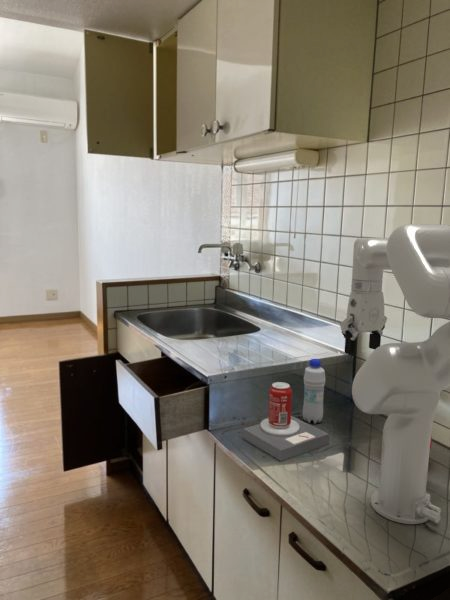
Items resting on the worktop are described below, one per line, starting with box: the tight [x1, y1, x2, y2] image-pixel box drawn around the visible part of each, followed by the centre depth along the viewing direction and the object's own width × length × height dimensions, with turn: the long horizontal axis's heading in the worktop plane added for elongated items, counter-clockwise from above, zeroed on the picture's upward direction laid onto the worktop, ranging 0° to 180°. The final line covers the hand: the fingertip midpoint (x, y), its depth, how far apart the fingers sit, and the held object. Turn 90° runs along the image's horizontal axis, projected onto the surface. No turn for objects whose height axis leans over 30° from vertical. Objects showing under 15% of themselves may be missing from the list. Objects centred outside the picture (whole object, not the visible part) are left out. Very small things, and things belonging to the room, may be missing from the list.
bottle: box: [302, 358, 326, 424], centre depth 148 cm, size 7×7×20 cm
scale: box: [242, 415, 330, 462], centre depth 135 cm, size 16×18×4 cm
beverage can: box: [268, 381, 293, 429], centre depth 135 cm, size 6×6×12 cm
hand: (362, 351), depth 124 cm, fingers open, 9 cm apart
